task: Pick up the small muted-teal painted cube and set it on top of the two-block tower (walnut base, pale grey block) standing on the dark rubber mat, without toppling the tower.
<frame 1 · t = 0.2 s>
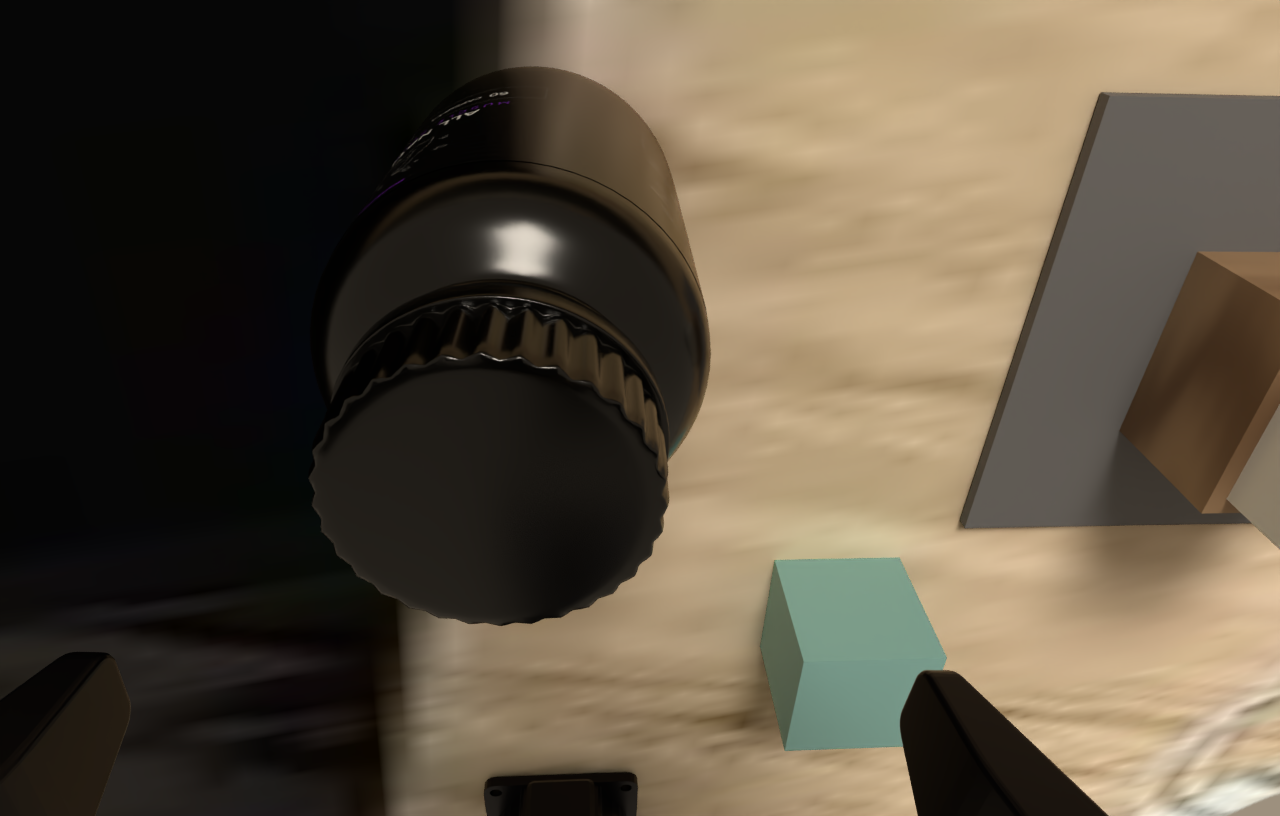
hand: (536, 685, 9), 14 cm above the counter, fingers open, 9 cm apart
teal cube: (826, 601, 29), on the counter
mat: (1242, 340, 24), on the counter
tower base: (1251, 347, 24), resting on mat, touching tower mid
supplement bottle: (540, 201, 21), on the counter
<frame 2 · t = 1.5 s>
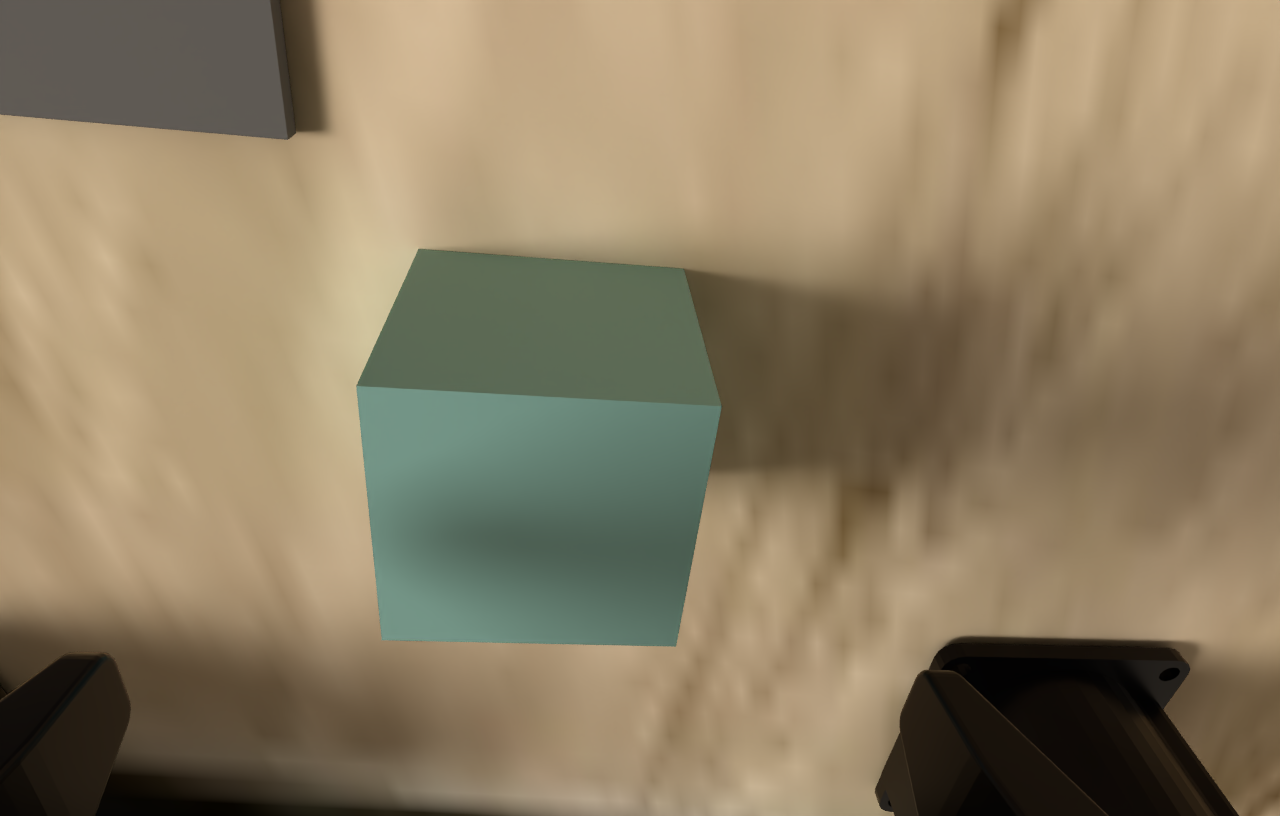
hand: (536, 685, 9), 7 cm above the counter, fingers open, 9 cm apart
teal cube: (548, 370, 15), on the counter
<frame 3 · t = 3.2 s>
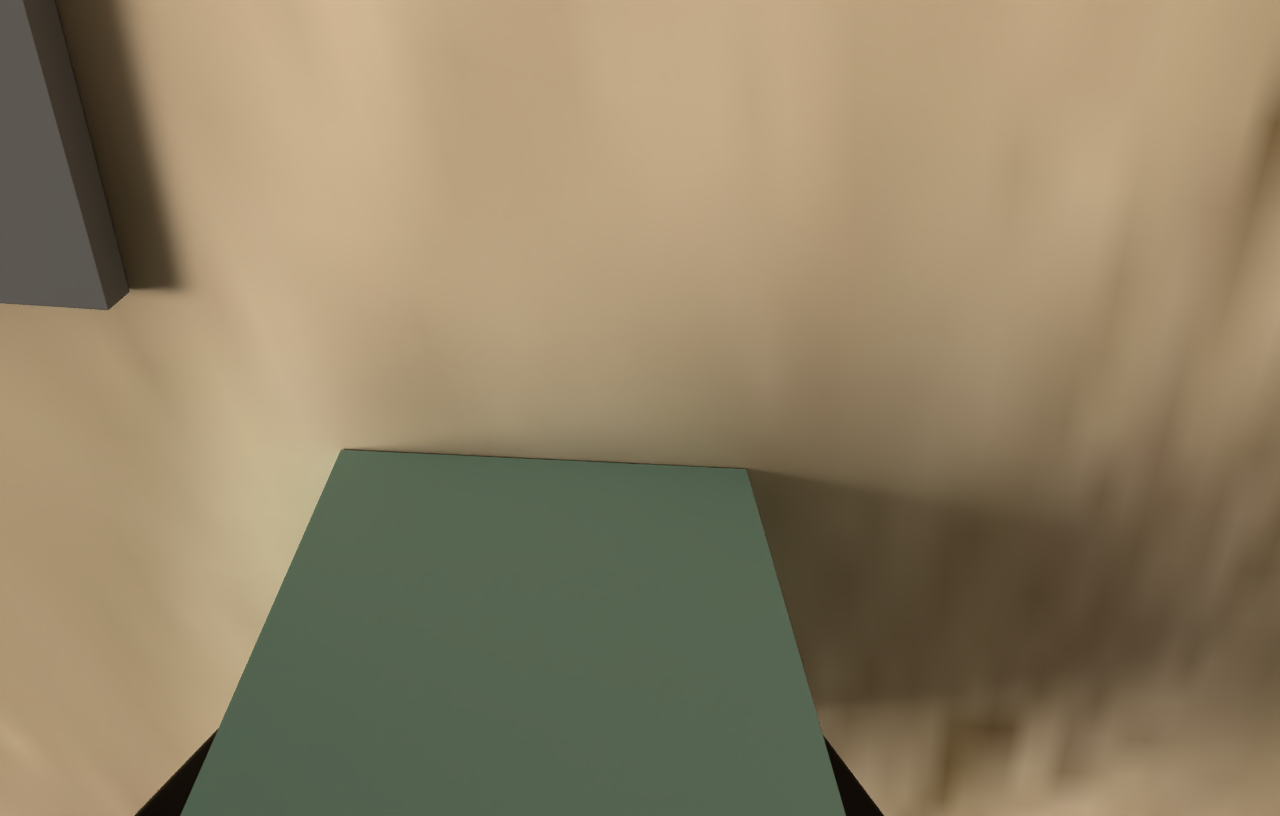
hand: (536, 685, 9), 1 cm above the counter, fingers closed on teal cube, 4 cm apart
teal cube: (541, 602, 10), on the counter, touching gripper
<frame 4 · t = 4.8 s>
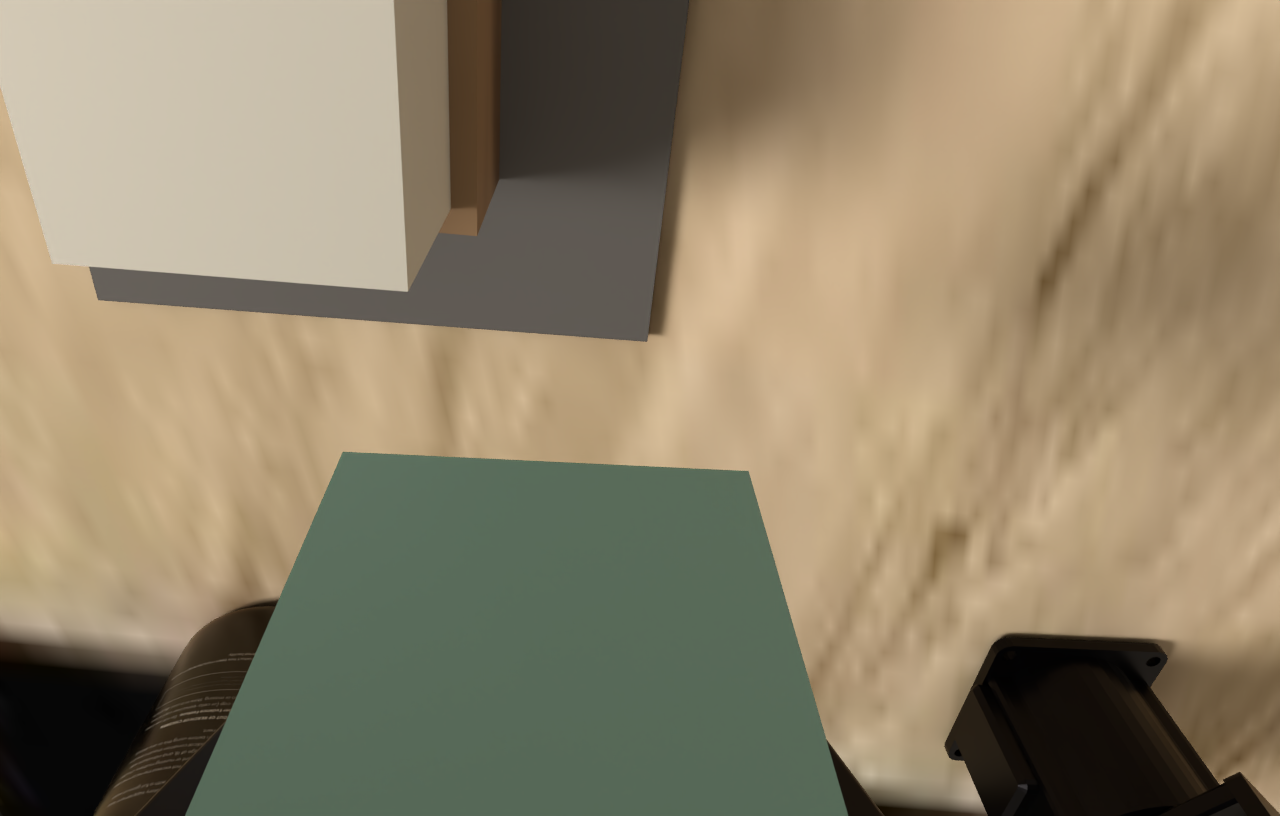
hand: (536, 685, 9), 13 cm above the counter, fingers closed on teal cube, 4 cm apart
teal cube: (543, 604, 10), point 12 cm above the counter, touching gripper
mat: (365, 25, 17), on the counter
tower base: (360, 27, 17), resting on mat, touching tower mid
supplement bottle: (294, 663, 28), on the counter
tower mid: (301, 54, 14), point 4 cm above the counter, touching tower base
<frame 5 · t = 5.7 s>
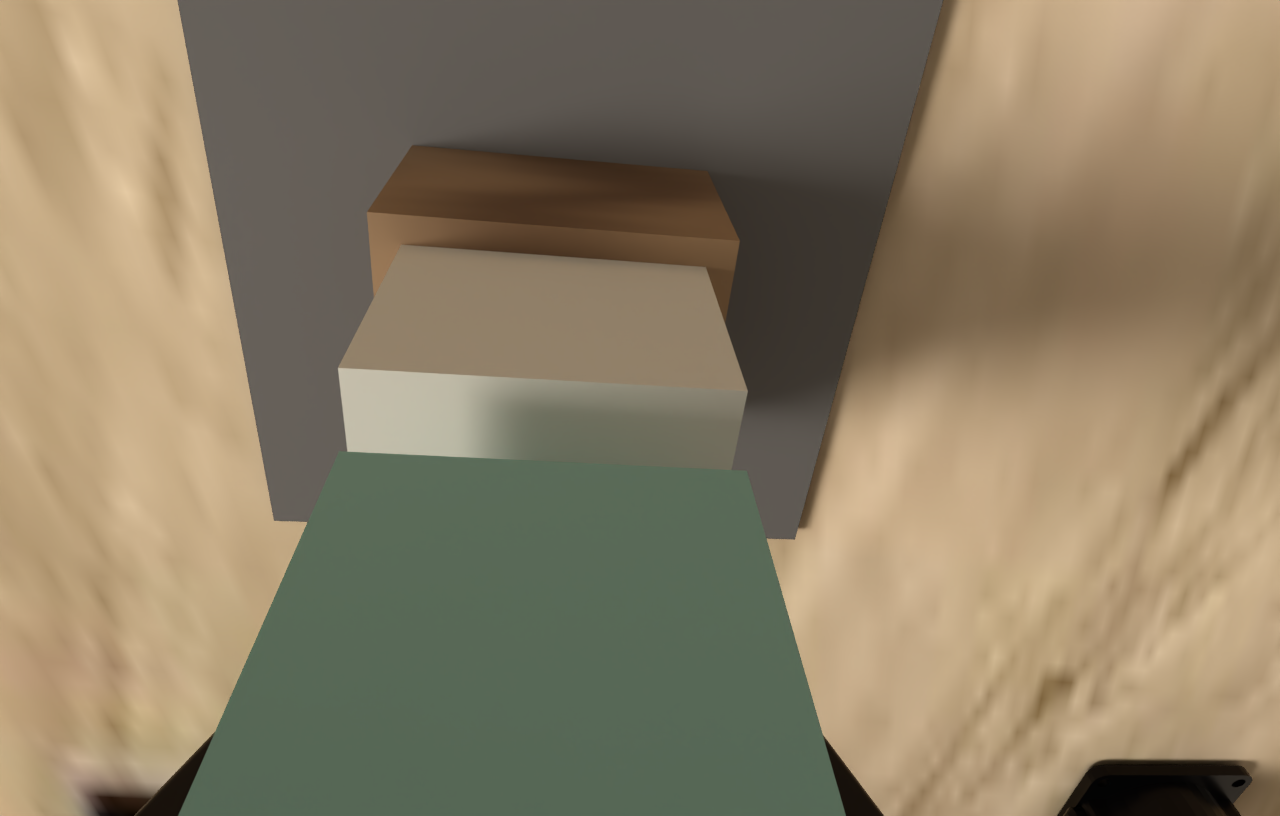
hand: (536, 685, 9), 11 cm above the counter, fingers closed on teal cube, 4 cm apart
teal cube: (540, 605, 10), point 10 cm above the counter, touching gripper
mat: (556, 286, 18), on the counter
tower base: (555, 293, 18), resting on mat, touching tower mid
tower mid: (550, 385, 14), point 4 cm above the counter, touching tower base
when the fingers open (10 cm above the counter, at t = 6.5 s): teal cube stays where it is, resting on tower mid.
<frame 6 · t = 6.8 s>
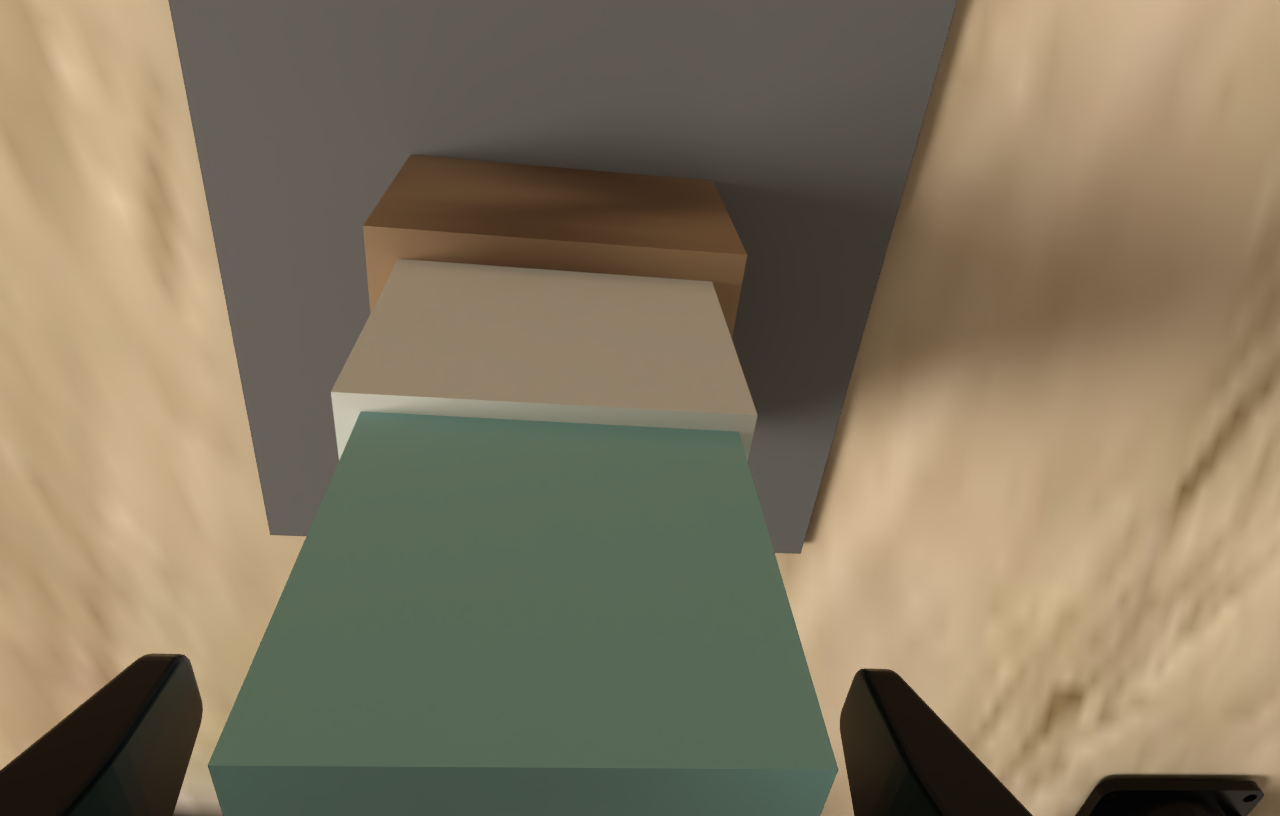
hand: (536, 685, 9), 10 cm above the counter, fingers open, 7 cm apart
teal cube: (546, 560, 11), point 8 cm above the counter, touching tower mid
mat: (557, 297, 18), on the counter
tower base: (557, 305, 17), resting on mat, touching tower mid
tower mid: (551, 402, 14), point 4 cm above the counter, touching teal cube, tower base
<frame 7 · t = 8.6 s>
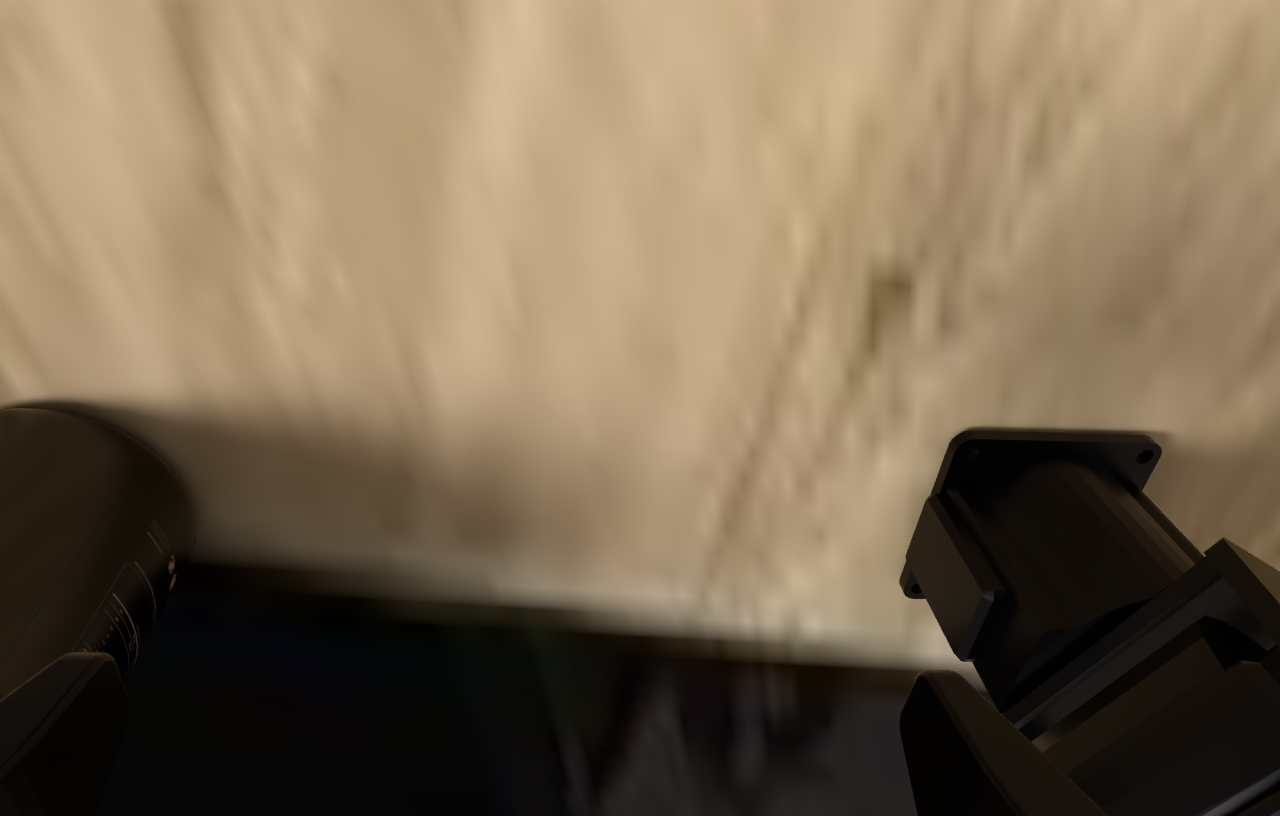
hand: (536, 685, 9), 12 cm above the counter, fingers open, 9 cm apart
supplement bottle: (78, 496, 22), on the counter
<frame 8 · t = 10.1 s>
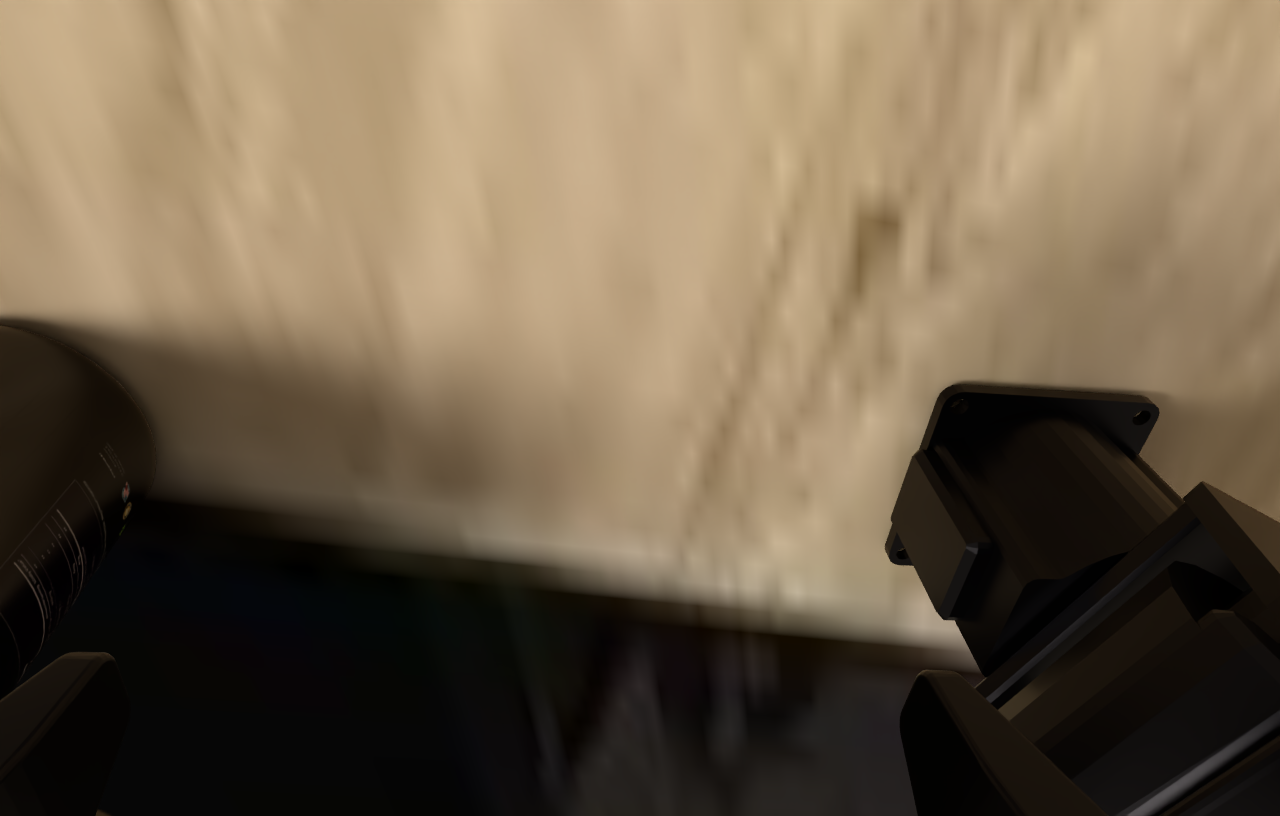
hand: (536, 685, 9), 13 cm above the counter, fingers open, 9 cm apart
supplement bottle: (36, 423, 22), on the counter
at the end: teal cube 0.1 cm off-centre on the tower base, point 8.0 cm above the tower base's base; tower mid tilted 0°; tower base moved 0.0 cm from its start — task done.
